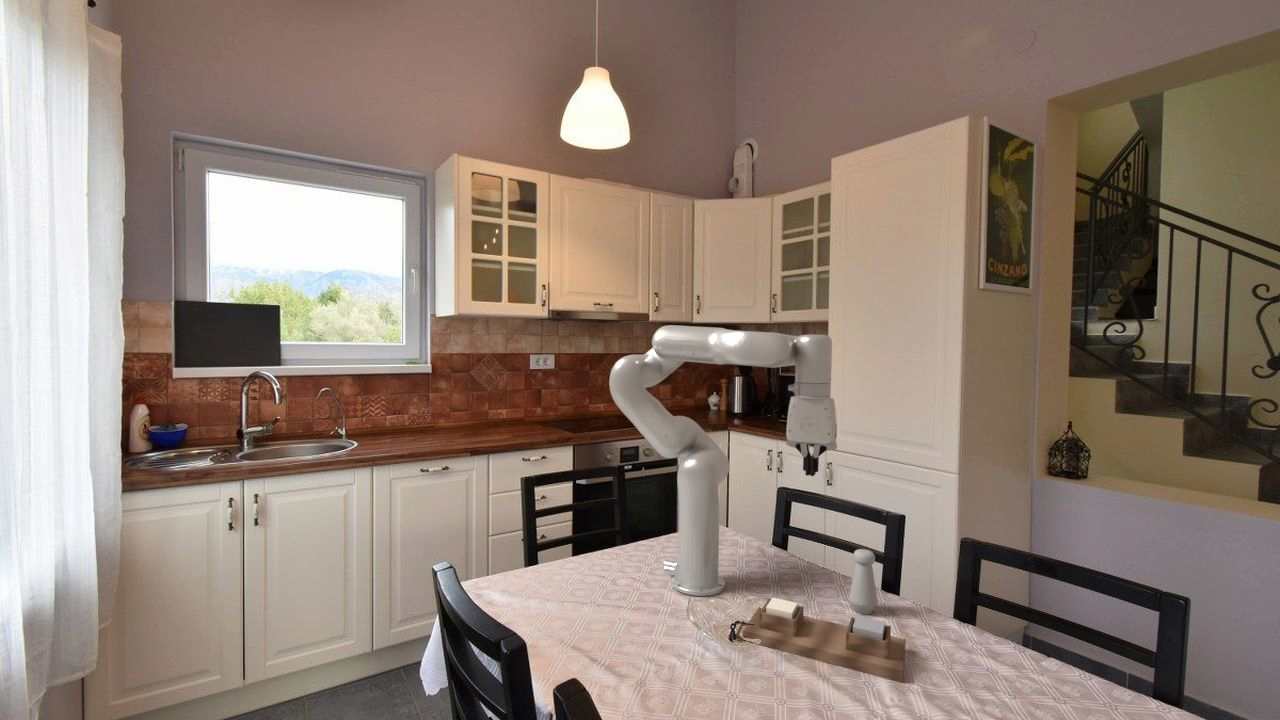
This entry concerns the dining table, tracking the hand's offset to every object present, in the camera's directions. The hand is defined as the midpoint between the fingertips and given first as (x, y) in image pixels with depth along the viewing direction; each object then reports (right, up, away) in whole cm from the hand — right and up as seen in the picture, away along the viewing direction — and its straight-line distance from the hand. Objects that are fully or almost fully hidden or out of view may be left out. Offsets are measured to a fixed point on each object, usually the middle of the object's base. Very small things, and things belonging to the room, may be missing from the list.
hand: (810, 474), depth 124 cm
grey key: (+5, -26, -20) cm, 33 cm away
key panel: (-2, -29, -16) cm, 34 cm away
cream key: (-9, -26, -12) cm, 30 cm away
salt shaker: (+11, -30, -1) cm, 32 cm away
